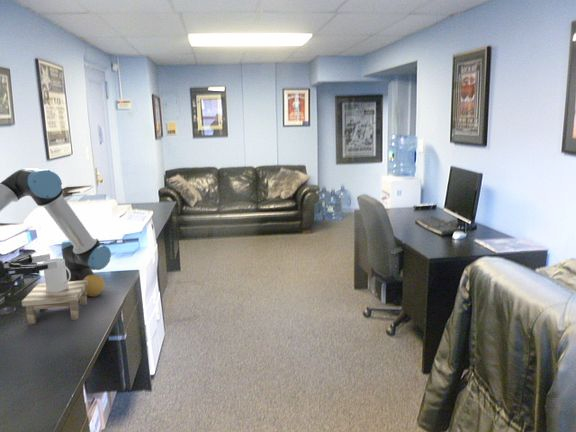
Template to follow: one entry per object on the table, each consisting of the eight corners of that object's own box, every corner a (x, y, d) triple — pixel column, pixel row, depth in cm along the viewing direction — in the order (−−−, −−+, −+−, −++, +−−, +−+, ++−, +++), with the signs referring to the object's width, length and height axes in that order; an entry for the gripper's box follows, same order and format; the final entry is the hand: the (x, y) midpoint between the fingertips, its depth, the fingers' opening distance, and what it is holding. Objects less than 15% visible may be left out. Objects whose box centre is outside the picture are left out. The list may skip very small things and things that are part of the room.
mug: (79, 287, 193) (75, 260, 191) (62, 294, 186) (58, 266, 183) (58, 284, 198) (54, 257, 195) (41, 291, 190) (37, 263, 188)
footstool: (40, 306, 200) (37, 284, 198) (89, 301, 204) (87, 280, 202) (25, 325, 181) (21, 301, 179) (79, 320, 185) (76, 296, 183)
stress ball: (108, 295, 213) (103, 278, 219) (104, 285, 206) (100, 267, 211) (85, 302, 210) (81, 284, 215) (81, 292, 202) (76, 273, 207)
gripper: (-10, 272, 186) (48, 262, 199) (-3, 289, 167) (60, 276, 179) (-13, 254, 185) (46, 245, 197) (-6, 269, 165) (58, 258, 178)
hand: (53, 260), depth 188 cm, fingers open, 13 cm apart
